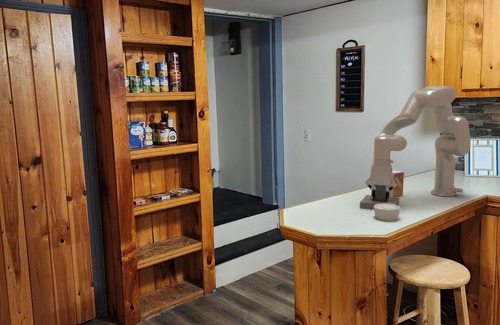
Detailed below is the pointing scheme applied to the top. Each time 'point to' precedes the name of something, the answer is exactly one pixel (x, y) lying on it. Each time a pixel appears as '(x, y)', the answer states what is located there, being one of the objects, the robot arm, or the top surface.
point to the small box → (399, 179)
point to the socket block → (376, 202)
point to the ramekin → (386, 211)
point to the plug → (380, 193)
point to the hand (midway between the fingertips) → (380, 198)
